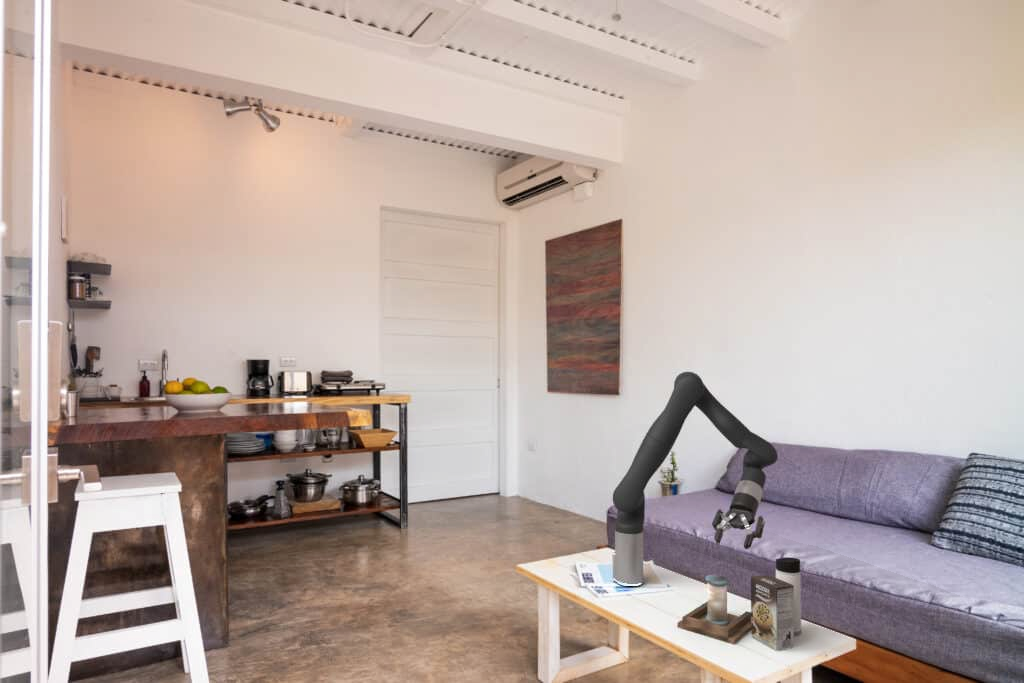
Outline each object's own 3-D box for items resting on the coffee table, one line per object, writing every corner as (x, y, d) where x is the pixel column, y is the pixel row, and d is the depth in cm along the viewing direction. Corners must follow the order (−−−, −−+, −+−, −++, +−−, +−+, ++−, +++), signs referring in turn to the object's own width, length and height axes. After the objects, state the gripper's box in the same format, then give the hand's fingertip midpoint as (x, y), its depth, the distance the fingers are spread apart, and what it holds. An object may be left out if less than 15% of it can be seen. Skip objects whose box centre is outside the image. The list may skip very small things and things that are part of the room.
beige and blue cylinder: (702, 622, 177) (702, 578, 178) (711, 615, 182) (711, 573, 182) (723, 628, 173) (723, 583, 174) (732, 621, 178) (731, 578, 178)
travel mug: (791, 638, 170) (790, 562, 170) (771, 629, 176) (770, 555, 176) (807, 633, 173) (806, 559, 173) (787, 624, 179) (786, 552, 179)
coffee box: (750, 637, 170) (749, 576, 171) (768, 633, 173) (767, 573, 173) (776, 651, 162) (775, 587, 162) (795, 647, 164) (794, 584, 165)
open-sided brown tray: (677, 627, 177) (677, 615, 177) (703, 610, 189) (703, 599, 189) (733, 644, 166) (733, 631, 166) (757, 625, 178) (757, 614, 178)
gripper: (720, 488, 197) (703, 533, 188) (766, 494, 188) (751, 542, 179) (727, 502, 201) (712, 547, 192) (773, 510, 191) (759, 557, 182)
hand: (731, 544), depth 185 cm, fingers open, 8 cm apart
